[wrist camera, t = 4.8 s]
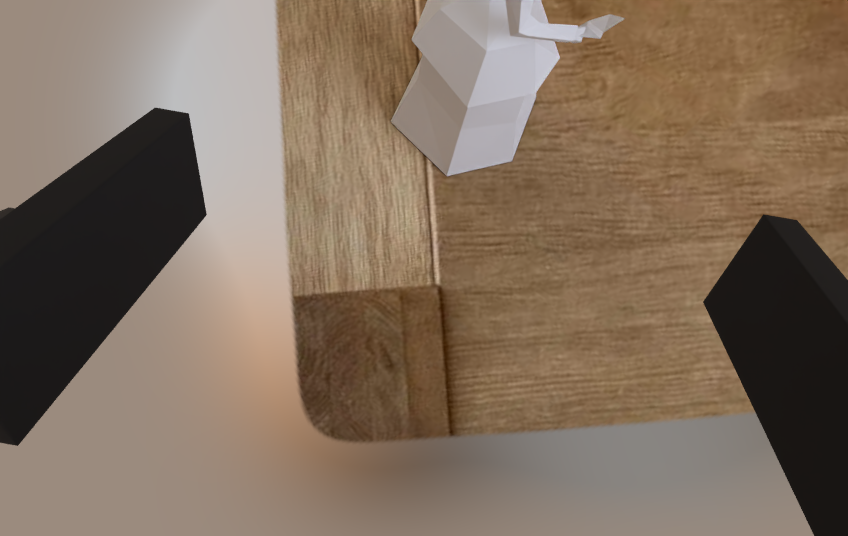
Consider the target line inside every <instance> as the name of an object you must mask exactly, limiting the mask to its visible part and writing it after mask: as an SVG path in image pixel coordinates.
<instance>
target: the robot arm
mask: <svg viewBox="0 0 848 536" xmlns="http://www.w3.org/2000/svg"><path fill="white" fill-rule="evenodd" d="M205 216H206V209H205V203H204V197H203V192H202V186H201V180H200V175H199V169H198V163H197V158H196V152H195V147H194V141H193V135H192V129H191V124H190V118H189V114H188V113H183V112H177V111H171V110H165V109H160V108H154V109H153V110H151V111H150V112H149V113H147V114H146V115H144V116H143V117H142V118H140V119H139V120H137V121H136V122H135V123H133V124H132V125H130V126H129V127H128V128H126V129H125V130H124V131H122V132H121V133H119V134H118V135H117V136H115V137H114V138H112V139H111V140H110V141H108V142H107V143H105V144H104V145H103V146H101V147H100V148H99V149H97V150H96V151H94V152H93V153H92V154H90V155H89V156H87V157H86V158H85V159H83V160H82V161H80V162H79V163H78V164H76V165H75V166H73V167H72V168H71V169H69V170H68V171H67V172H65V173H64V174H62V175H61V176H60V177H58V178H57V179H55V180H54V181H53V182H52V183H50V184H49V185H47V186H46V187H45V188H43V189H42V190H40V191H39V192H37V193H36V194H35V195H33V196H32V197H30V198H29V199H28V200H26V201H25V202H24V203H22V204H21V205H19V206H18V207H17V208H15V209H14V208H7V209H5V210H2V211H0V443H6V444H12V445H17V446H18V445H19V444H20V442H21V441H22V440H23V439H24V438H25V436H26V435H27V434H28V433H29V431H30V430H31V429H32V428H33V427H34V425H35V424H36V423H37V422H38V420H39V419H40V418H41V417H42V416H43V414H44V413H45V412H46V411H47V409H48V408H49V407H50V406H51V405H52V403H53V402H54V401H55V400H56V398H57V397H58V396H59V395H60V394H61V392H62V391H63V390H64V389H65V387H66V386H67V385H68V384H69V383H70V381H71V380H72V379H73V378H74V376H75V375H76V374H77V373H78V372H79V370H80V369H81V368H82V367H83V365H84V364H85V363H86V362H87V361H88V359H89V358H90V357H91V356H92V354H93V353H94V352H95V351H96V350H97V348H98V347H99V346H100V345H101V343H102V342H103V341H104V340H105V339H106V337H107V336H108V335H109V334H110V332H111V331H112V330H113V329H114V328H115V326H116V325H117V324H118V323H119V321H120V320H121V319H122V318H123V317H124V315H125V314H126V313H127V312H128V310H129V309H130V308H131V307H132V306H133V304H134V303H135V302H136V301H137V299H138V298H139V297H140V296H141V294H142V293H143V292H144V291H145V290H146V288H147V287H148V286H149V285H150V284H151V282H152V281H153V280H154V279H155V277H156V276H157V275H158V274H159V273H160V271H161V270H162V269H163V268H164V266H165V265H166V264H167V263H168V262H169V260H170V259H171V258H172V257H173V255H174V254H175V253H176V252H177V251H178V249H179V248H180V247H181V246H182V244H183V243H184V242H185V241H186V240H187V238H188V237H189V236H190V235H191V233H192V232H193V231H194V230H195V228H196V227H197V226H198V225H199V224H200V222H201V221H202V220H203V219H204V217H205ZM703 303H704V305H705V307H706V309H707V311H708V313H709V315H710V317H711V319H712V322H713V324H714V326H715V328H716V330H717V332H718V334H719V336H720V338H721V341H722V343H723V345H724V347H725V349H726V351H727V353H728V355H729V357H730V359H731V362H732V364H733V366H734V368H735V370H736V372H737V374H738V376H739V378H740V380H741V383H742V385H743V387H744V389H745V391H746V393H747V395H748V397H749V399H750V402H751V404H752V406H753V408H754V410H755V412H756V414H757V416H758V418H759V420H760V423H761V424H762V427H763V429H764V431H765V433H766V435H767V437H768V439H769V441H770V444H771V446H772V448H773V450H774V452H775V454H776V456H777V458H778V460H779V463H780V465H781V467H782V469H783V471H784V473H785V475H786V477H787V479H788V481H789V483H790V486H791V488H792V490H793V492H794V494H795V496H796V498H797V500H798V502H799V505H800V506H801V509H802V511H803V513H804V515H805V517H806V519H807V521H808V524H809V525H810V528H811V530H812V532H813V534H814V536H848V280H847V279H846V278H845V276H844V275H843V274H842V273H841V272H840V270H839V269H838V268H837V267H836V266H835V265H834V263H833V262H832V261H831V260H830V259H829V257H828V256H827V255H826V254H825V253H824V252H823V250H822V249H821V248H820V247H819V246H818V244H817V243H816V242H815V241H814V240H813V239H812V237H811V236H810V235H809V234H808V233H807V231H806V230H805V229H804V228H803V227H802V226H801V224H800V223H799V222H798V221H797V220H792V219H787V218H781V217H775V216H769V215H763V216H762V217H761V219H760V220H759V222H758V223H757V225H756V226H755V228H754V229H753V231H752V232H751V233H750V235H749V236H748V238H747V239H746V241H745V242H744V244H743V245H742V246H741V248H740V249H739V251H738V252H737V254H736V255H735V257H734V258H733V260H732V261H731V262H730V264H729V265H728V267H727V268H726V270H725V271H724V273H723V274H722V276H721V277H720V278H719V280H718V281H717V283H716V284H715V286H714V287H713V289H712V290H711V291H710V293H709V294H708V296H707V297H706V299H705V300H704V302H703Z"/></svg>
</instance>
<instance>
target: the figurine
mask: <svg viewBox="0 0 848 536" xmlns="http://www.w3.org/2000/svg"><path fill="white" fill-rule="evenodd" d="M624 19H625V18H621V17H618V16H615V15H611V14H609V15H606V16H603V17H599V18H596V19H593V20H590V21H587V22H586V23H584V24H582V25H580V26H579V27H578V26H577V25H561V24H549V23H548V20H547V17H546V14H545V11H544V8H543V5H542V2H541V0H427V3H426V5H425V7H424V10H423V12H422V15H421V17H420V20H419V22H418V25H417V27H416V30H415V32H414V35H413V37H412V39H411V40H412V41H413V42H414V44H415V45H416V46H417V47H418V48H419V50H420V51H421V52H422V53H423V54H422V58H421V60H420V62H419V64H418V66H417V68H416V70H415V72H414V74H413V76H412V79H411V81H410V83H409V85H408V87H407V89H406V91H405V93H404V95H403V97H402V99H401V101H400V103H399V105H398V107H397V109H396V111H395V113H394V116H393V118H392V120H391V123H392V124H394V125H395V126H396V127H397V128H398V129H399V130H400V131H401V132H402V133H403V134H404V135H405V136H406V137H407V138H408V139H409V140H410V141H411V142H412V143H413V144H414V145H415V146H416V147H417V148H418V149H419V150H420V151H421V152H422V153H423V154H424V155H425V156H426V157H428V158H429V159H430V160H431V161H432V162H433V163H434V164H435V165H436V166H437V167H438V168H439V169H440V170H441V171H442V172H443V173H444V174H445V175H446V176H450V175H454V174H458V173H463V172H467V171H471V170H476V169H480V168H485V167H489V166H493V165H498V164H502V163H506V162H511V161H512V160H513V157H514V154H515V152H516V149H517V146H518V144H519V141H520V138H521V136H522V133H523V130H524V128H525V125H526V122H527V120H528V117H529V114H530V112H531V109H532V107H533V104H534V101H535V99H536V92H537V90H538V89H539V87H540V86H541V84H542V83H543V82H544V80H545V79H546V77H547V76H548V74H549V73H550V71H551V70H552V69H553V67H554V66H555V64H556V63H557V61H558V60H559V59H560V57H559V54H558V51H557V48H556V45H555V42H554V41H557V42H566V43H567V42H572V43H579V42H581V41H582V38H583V37H589V38H599V39H601V37H602V34H603V32H605V31H607V30H608V29H610V28H611V27H613V26H614V25H616V24H618V23H619V22H621V21H622V20H624Z"/></svg>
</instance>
